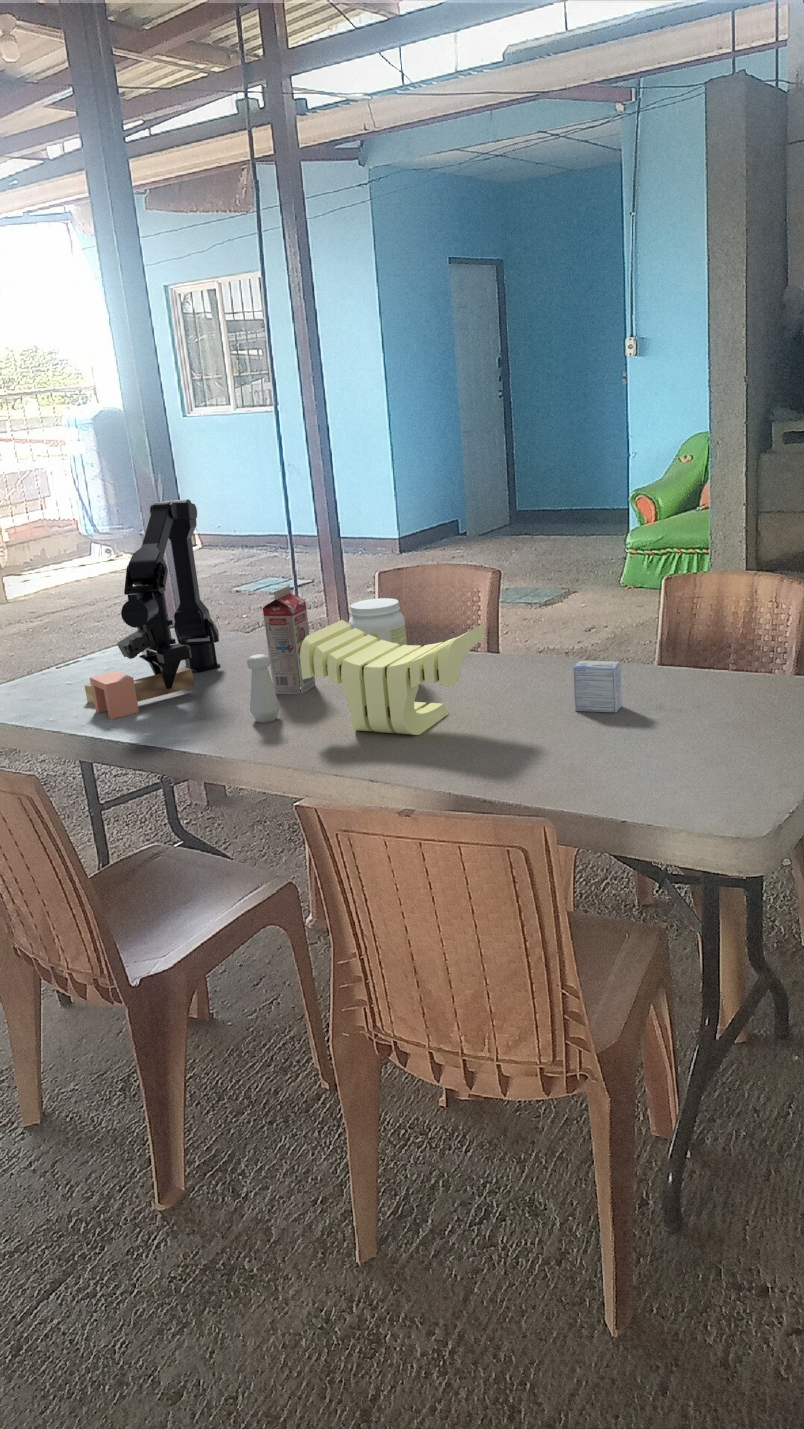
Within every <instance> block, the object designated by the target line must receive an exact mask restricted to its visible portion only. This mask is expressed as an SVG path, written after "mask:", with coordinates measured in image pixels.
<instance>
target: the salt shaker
mask: <svg viewBox="0 0 804 1429" xmlns="http://www.w3.org/2000/svg"><path fill="white" fill-rule="evenodd" d="M246 661H247V662H246V664H247V668H248V669H249V670H251V681H250V683H251V684H250V697H249V698H250V701H249V711H250V714H251V715H252V716H253V718H254V720H255V721H256V723H262V724H265V723H270V722H271V723H272V722H274V721H275V720H276V719H278V715H279V714H280V713H279V712H280V708H281V707H280V703H279V698H278V697H277V694H276V693H275V690H274V687H273V683H272V676H271V675H270V671H269V669H268V667H269V666H270V660H269V655H266V654H263V653H260V654H259V653H258V654H253V655H251V656H249V657H248V658H247V660H246Z"/></svg>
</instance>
